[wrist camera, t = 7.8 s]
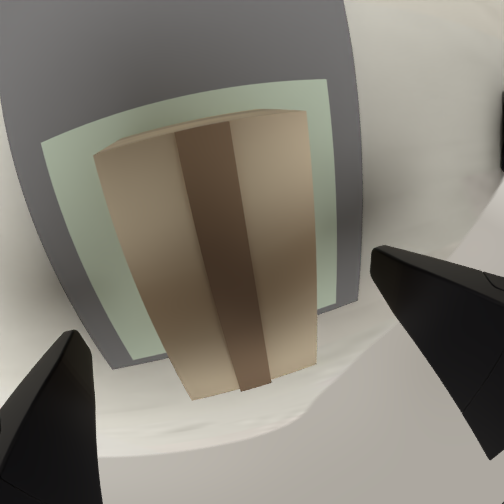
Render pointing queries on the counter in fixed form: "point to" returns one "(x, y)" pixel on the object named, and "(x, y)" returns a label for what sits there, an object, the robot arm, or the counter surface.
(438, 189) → the counter surface
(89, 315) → the mat
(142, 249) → the taped cardboard box
